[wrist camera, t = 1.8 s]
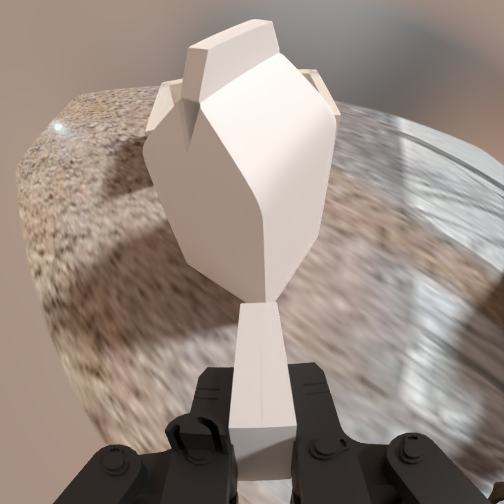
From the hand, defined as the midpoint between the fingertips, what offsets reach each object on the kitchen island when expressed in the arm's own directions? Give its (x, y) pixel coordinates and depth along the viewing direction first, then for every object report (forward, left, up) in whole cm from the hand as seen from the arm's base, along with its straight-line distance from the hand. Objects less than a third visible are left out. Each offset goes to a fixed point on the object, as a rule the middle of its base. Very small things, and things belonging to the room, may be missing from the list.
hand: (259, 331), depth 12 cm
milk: (0, -14, -19) cm, 24 cm away
